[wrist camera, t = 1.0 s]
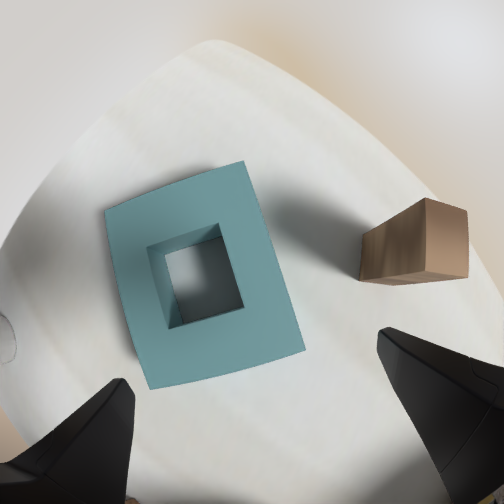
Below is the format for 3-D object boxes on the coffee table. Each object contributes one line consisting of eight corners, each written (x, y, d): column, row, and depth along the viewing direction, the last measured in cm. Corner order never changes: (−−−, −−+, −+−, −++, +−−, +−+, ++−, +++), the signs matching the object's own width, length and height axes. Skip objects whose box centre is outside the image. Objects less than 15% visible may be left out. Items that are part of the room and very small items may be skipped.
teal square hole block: (297, 340, 21) (306, 350, 17) (166, 375, 21) (149, 389, 17) (245, 181, 23) (243, 160, 19) (125, 223, 23) (104, 210, 19)
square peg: (393, 285, 21) (468, 277, 11) (358, 281, 22) (425, 270, 12) (396, 241, 22) (466, 210, 12) (362, 235, 22) (424, 197, 12)
